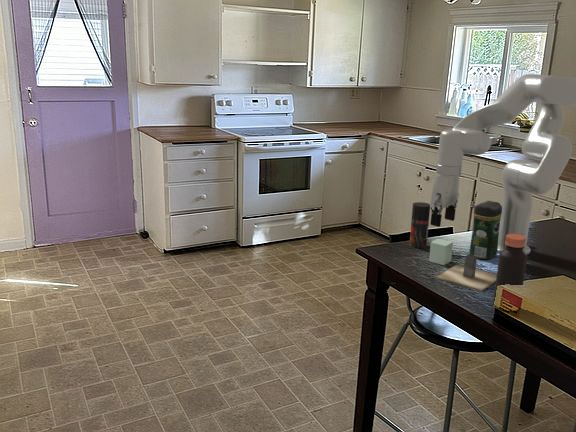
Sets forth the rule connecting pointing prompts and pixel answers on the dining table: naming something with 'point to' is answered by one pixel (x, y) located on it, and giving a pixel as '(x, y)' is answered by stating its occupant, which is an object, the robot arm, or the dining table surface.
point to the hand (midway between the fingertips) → (442, 222)
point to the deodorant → (419, 225)
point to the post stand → (468, 275)
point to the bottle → (511, 262)
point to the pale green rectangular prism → (440, 251)
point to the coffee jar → (485, 230)
